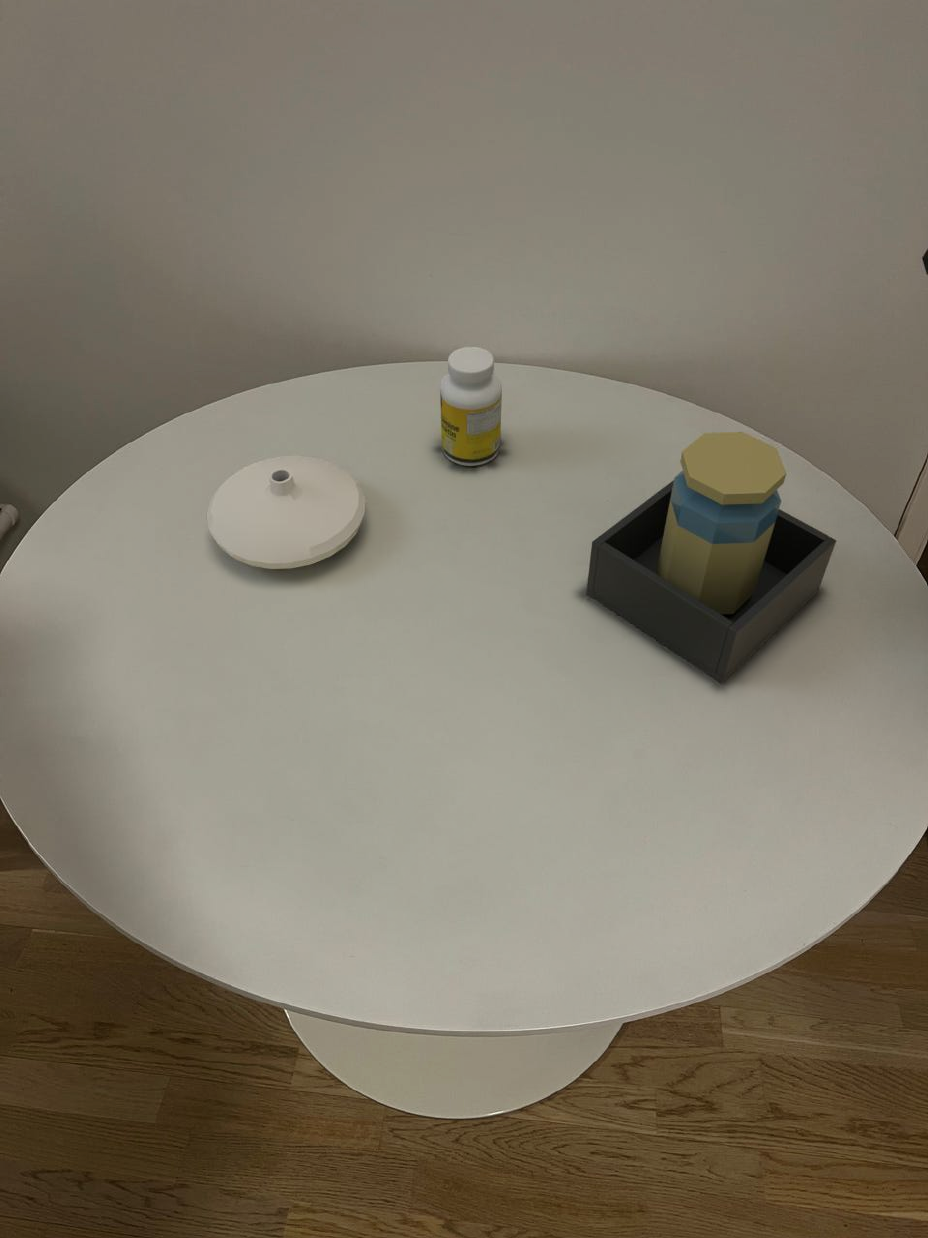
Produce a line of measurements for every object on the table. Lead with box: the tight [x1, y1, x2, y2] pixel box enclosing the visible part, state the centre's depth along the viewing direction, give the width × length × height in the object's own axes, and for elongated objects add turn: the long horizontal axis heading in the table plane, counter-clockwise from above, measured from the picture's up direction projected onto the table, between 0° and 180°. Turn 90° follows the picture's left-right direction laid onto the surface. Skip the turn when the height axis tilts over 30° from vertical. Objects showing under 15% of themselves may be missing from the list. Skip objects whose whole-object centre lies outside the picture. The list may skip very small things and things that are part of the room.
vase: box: [205, 455, 366, 570], centre depth 100 cm, size 16×16×7 cm
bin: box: [585, 479, 837, 684], centre depth 93 cm, size 16×16×7 cm
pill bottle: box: [439, 346, 503, 467], centre depth 106 cm, size 6×6×12 cm
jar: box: [657, 431, 787, 614], centre depth 89 cm, size 9×9×15 cm
